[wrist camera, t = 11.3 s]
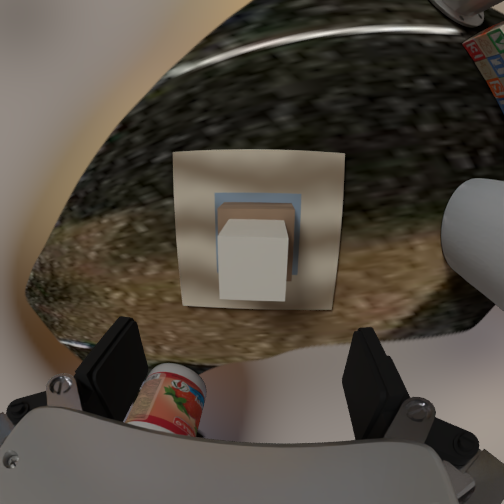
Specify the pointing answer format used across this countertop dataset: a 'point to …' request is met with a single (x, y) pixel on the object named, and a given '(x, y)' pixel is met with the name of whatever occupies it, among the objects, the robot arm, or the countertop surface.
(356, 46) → the countertop surface
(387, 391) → the robot arm
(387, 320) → the countertop surface
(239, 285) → the cream block
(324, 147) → the countertop surface
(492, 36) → the stack of blocks
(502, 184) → the utensil holder
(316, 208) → the board
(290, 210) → the walnut foundation
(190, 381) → the fruit juice
